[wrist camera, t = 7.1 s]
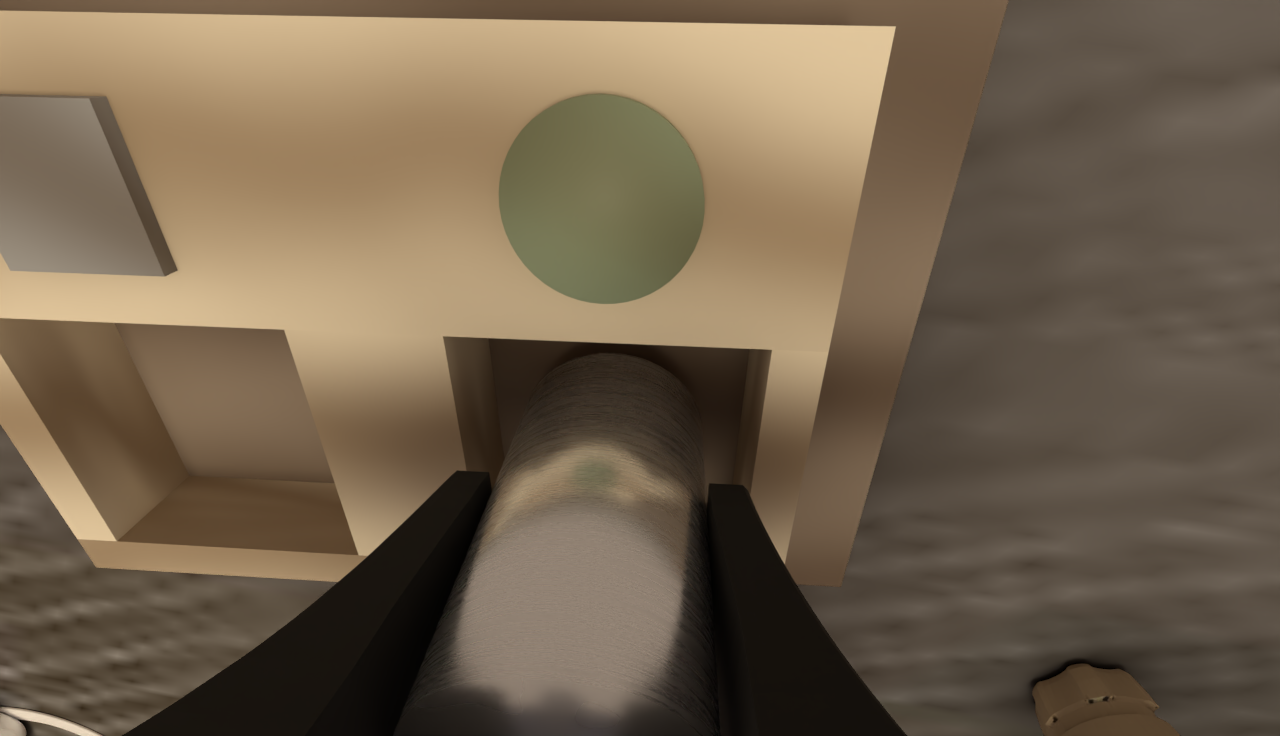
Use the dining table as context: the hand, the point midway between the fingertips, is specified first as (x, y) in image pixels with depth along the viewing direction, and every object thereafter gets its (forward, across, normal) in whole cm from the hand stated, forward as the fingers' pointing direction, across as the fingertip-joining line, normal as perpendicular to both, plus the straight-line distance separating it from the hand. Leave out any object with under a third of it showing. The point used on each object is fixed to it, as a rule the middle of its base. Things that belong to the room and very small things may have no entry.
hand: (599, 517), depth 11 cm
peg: (+3, 0, 0) cm, 3 cm away
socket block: (+4, +5, -2) cm, 7 cm away
